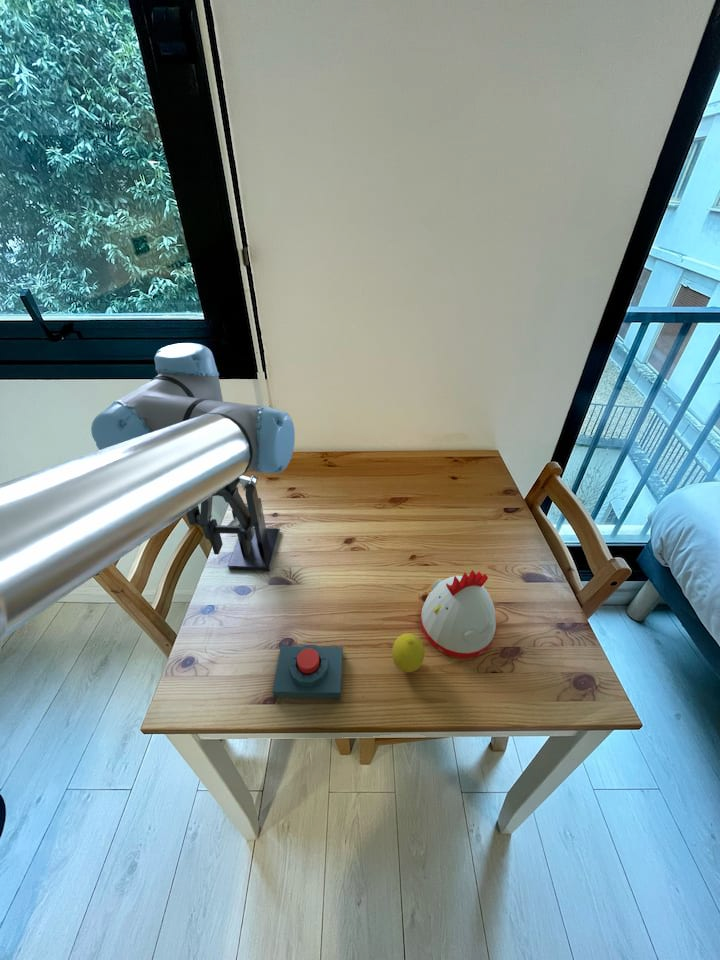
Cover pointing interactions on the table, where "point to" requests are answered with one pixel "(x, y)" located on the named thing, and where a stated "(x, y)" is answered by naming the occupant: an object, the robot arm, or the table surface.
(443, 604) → the kitchen timer
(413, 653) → the lemon
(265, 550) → the bracket
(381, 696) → the table surface
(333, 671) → the button box
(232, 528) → the lever
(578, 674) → the table surface
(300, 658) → the button
